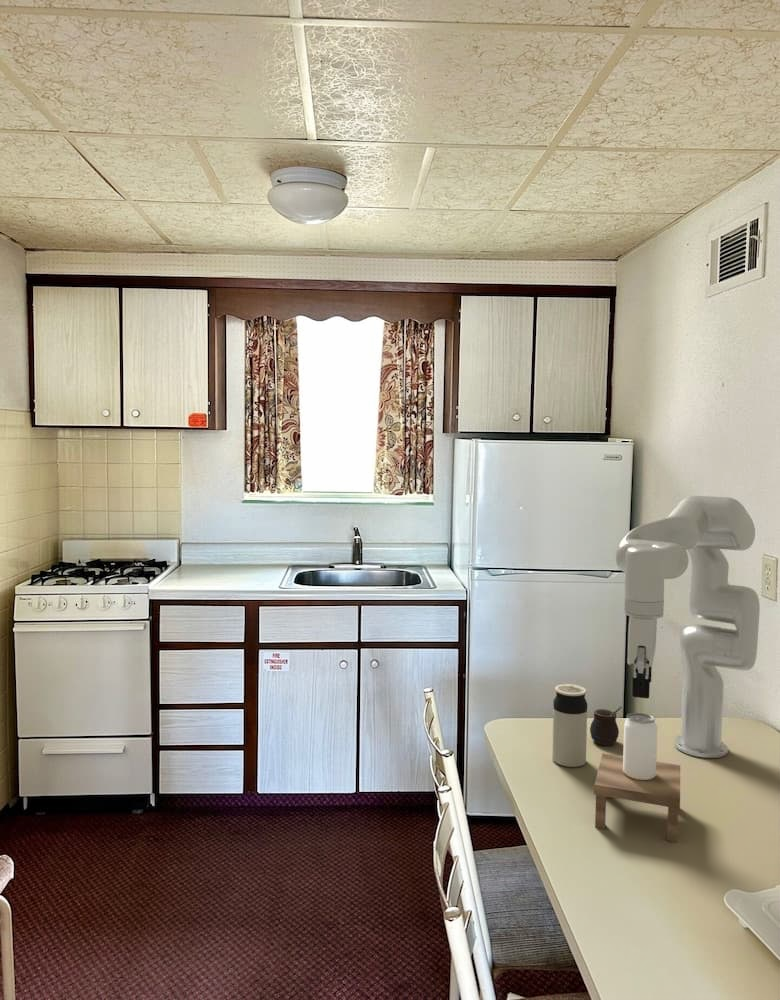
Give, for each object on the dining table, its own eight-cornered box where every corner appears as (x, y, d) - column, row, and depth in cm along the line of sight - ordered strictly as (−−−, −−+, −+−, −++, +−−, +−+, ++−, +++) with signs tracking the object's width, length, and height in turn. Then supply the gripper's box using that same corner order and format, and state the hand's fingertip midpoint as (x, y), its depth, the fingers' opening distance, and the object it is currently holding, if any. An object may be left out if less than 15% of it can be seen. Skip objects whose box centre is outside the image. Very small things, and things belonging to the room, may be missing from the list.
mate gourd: (587, 735, 195) (589, 699, 194) (617, 737, 194) (618, 700, 193) (591, 746, 188) (592, 708, 187) (621, 749, 187) (623, 710, 186)
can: (658, 782, 149) (659, 724, 148) (624, 779, 150) (626, 722, 149) (653, 768, 155) (654, 713, 154) (621, 766, 156) (622, 710, 155)
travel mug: (580, 771, 174) (581, 696, 173) (547, 763, 178) (549, 690, 177) (590, 758, 181) (591, 687, 179) (558, 751, 185) (560, 681, 184)
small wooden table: (601, 792, 163) (602, 753, 163) (678, 805, 157) (680, 765, 157) (593, 827, 148) (594, 784, 148) (678, 843, 143) (680, 798, 142)
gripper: (627, 596, 159) (625, 674, 161) (621, 615, 143) (619, 701, 145) (664, 599, 156) (662, 678, 158) (662, 619, 140) (660, 706, 142)
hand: (641, 689), depth 151 cm, fingers open, 9 cm apart
